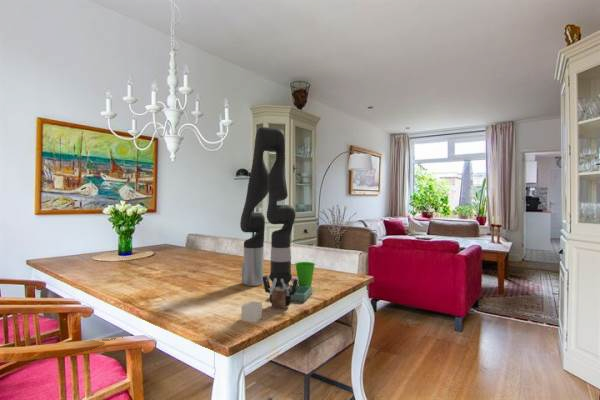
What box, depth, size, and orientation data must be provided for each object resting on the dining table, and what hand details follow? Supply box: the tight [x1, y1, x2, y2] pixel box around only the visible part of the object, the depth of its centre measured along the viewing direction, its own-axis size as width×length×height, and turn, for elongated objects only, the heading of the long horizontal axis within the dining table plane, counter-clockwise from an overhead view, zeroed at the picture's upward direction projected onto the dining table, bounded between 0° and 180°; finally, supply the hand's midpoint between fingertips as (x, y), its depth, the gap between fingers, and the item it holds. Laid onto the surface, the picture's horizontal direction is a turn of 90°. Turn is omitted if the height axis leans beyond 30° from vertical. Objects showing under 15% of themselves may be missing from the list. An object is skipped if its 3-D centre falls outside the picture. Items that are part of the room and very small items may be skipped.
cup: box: [294, 261, 316, 287], centre depth 143 cm, size 9×9×11 cm
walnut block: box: [271, 288, 289, 310], centre depth 119 cm, size 5×5×6 cm
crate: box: [277, 284, 313, 303], centre depth 132 cm, size 14×11×3 cm
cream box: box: [241, 300, 263, 323], centre depth 107 cm, size 5×5×5 cm
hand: (280, 304), depth 119 cm, fingers closed on walnut block, 5 cm apart
